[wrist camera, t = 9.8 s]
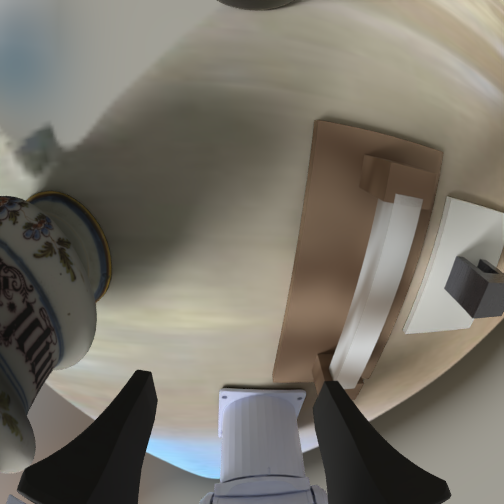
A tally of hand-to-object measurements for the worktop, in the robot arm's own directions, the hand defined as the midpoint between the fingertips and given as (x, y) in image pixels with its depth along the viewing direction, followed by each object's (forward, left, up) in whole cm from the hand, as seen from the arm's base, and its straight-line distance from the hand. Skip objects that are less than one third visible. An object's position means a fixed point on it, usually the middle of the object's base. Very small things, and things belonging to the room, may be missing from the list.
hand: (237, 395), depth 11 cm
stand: (+1, -8, -9) cm, 12 cm away
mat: (+2, -19, -9) cm, 21 cm away
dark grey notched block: (+2, -19, -9) cm, 21 cm away
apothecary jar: (+1, +14, -10) cm, 17 cm away
